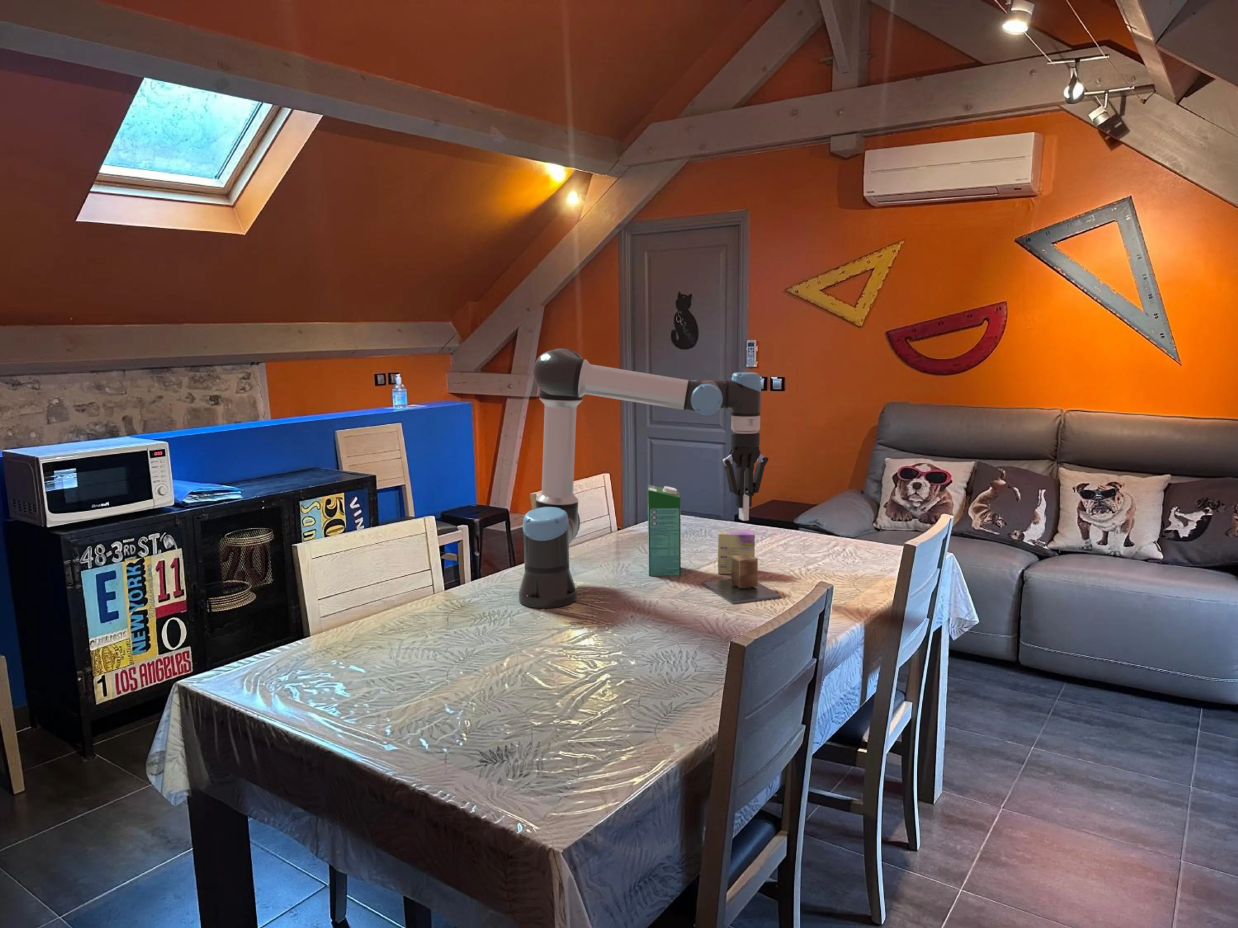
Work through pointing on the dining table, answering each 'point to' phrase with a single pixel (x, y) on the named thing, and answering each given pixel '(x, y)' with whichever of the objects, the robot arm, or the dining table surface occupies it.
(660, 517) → the milk carton
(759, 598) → the grey plate
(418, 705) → the dining table surface
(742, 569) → the brown rectangular block
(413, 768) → the dining table surface
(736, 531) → the box
